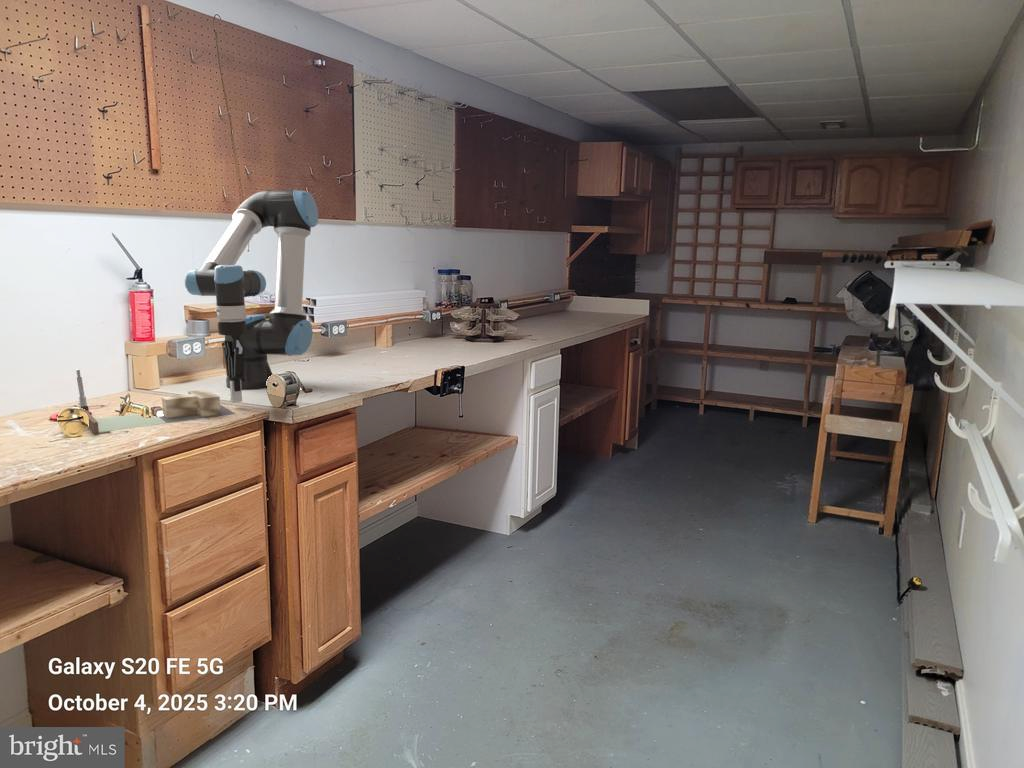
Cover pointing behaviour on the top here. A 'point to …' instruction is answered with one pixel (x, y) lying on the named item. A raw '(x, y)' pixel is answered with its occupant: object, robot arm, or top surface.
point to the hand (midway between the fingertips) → (236, 401)
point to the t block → (192, 404)
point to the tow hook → (82, 397)
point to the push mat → (140, 421)
